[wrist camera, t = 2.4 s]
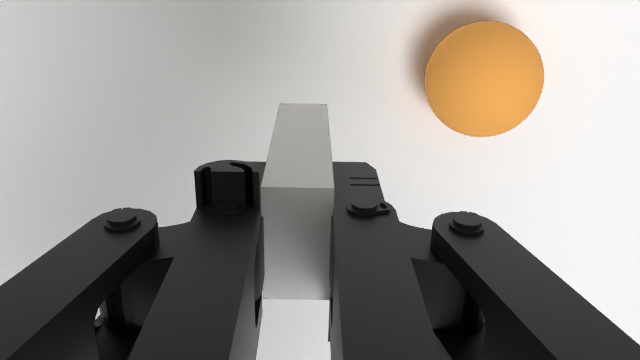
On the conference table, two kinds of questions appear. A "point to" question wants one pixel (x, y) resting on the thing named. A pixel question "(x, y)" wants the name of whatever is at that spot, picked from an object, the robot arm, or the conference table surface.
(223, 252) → the robot arm
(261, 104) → the conference table surface
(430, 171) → the conference table surface
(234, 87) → the conference table surface
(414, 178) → the conference table surface
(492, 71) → the ball
